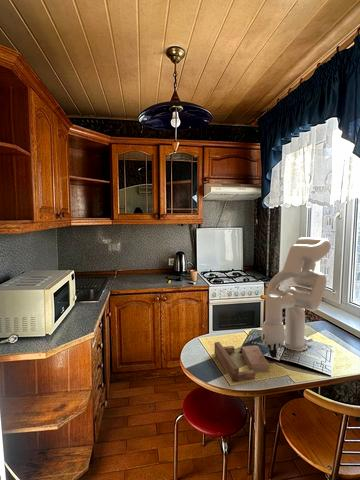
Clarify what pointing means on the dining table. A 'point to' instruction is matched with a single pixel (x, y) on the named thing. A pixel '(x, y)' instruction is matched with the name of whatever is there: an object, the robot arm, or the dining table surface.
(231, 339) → the dining table surface
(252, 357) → the brick
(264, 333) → the robot arm
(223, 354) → the block
